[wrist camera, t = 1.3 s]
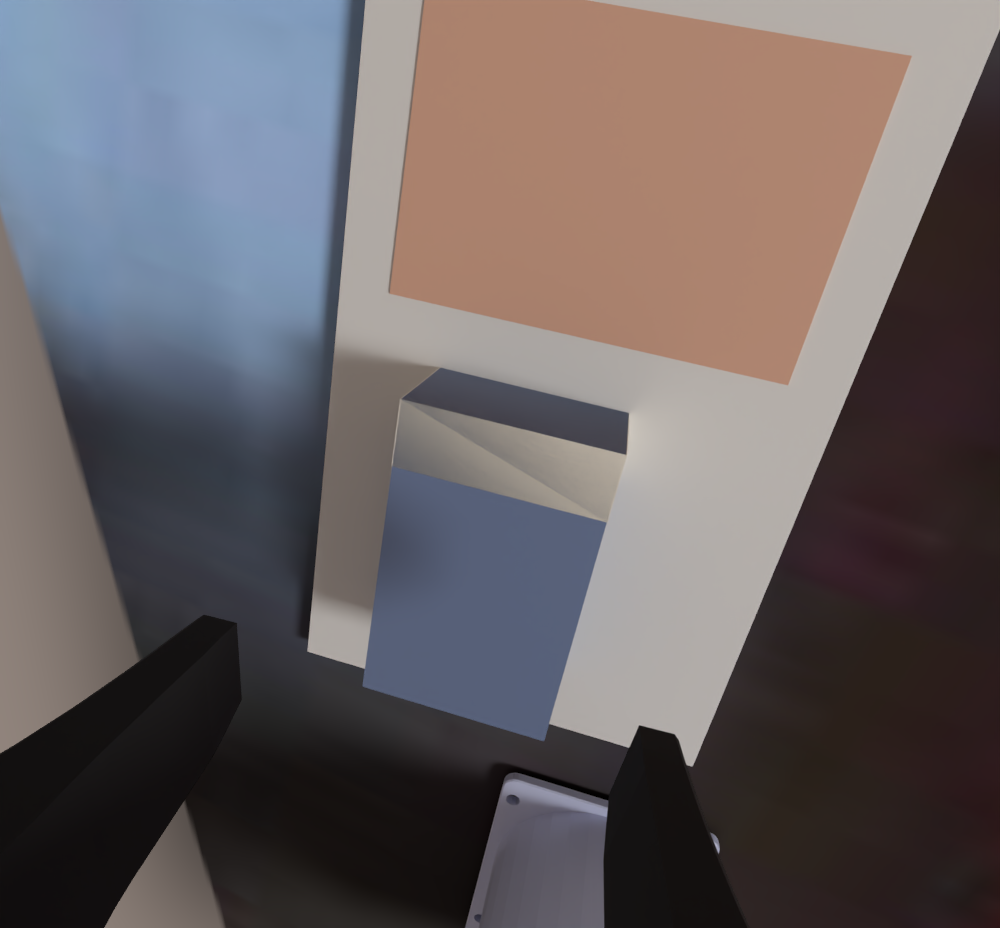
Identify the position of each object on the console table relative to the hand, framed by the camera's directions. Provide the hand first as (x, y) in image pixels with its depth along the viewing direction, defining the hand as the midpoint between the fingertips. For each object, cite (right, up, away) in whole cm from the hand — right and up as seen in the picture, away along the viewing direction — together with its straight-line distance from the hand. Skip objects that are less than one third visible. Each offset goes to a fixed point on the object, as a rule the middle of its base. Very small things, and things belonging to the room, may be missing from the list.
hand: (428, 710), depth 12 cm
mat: (+3, +6, +8) cm, 10 cm away
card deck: (+1, +2, +9) cm, 9 cm away
